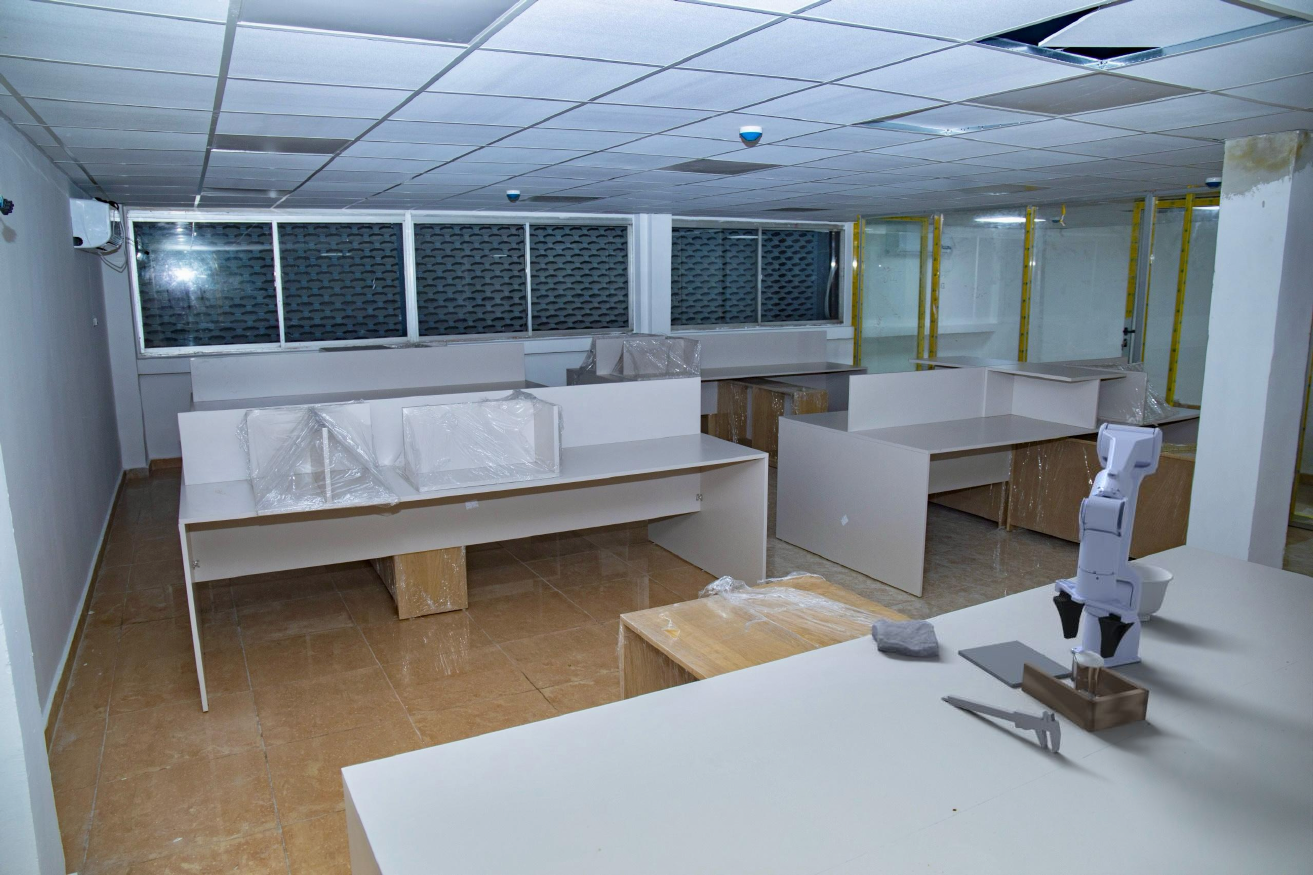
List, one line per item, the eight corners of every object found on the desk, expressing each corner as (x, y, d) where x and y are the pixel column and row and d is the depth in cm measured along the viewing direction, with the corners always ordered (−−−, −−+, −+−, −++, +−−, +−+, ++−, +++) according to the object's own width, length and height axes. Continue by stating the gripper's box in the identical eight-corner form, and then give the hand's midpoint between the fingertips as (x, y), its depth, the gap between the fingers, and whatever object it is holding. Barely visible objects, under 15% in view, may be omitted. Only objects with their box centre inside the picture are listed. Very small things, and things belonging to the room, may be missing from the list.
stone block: (941, 667, 161) (930, 635, 170) (943, 646, 159) (932, 614, 168) (877, 666, 162) (869, 634, 171) (878, 645, 160) (871, 614, 169)
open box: (1074, 679, 152) (1077, 652, 151) (1145, 719, 139) (1149, 690, 138) (1021, 689, 148) (1024, 662, 147) (1088, 731, 135) (1092, 702, 134)
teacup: (1101, 596, 191) (1106, 554, 189) (1175, 616, 180) (1181, 571, 178) (1079, 610, 183) (1084, 566, 181) (1155, 632, 172) (1161, 585, 170)
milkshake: (1058, 697, 146) (1064, 643, 144) (1088, 696, 146) (1095, 642, 144) (1073, 711, 141) (1080, 655, 139) (1104, 710, 142) (1111, 654, 140)
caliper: (1059, 753, 130) (1063, 715, 128) (1055, 756, 129) (1059, 717, 128) (944, 698, 146) (947, 664, 144) (940, 700, 145) (943, 666, 144)
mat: (1016, 643, 167) (1017, 640, 167) (1073, 675, 154) (1074, 672, 154) (958, 653, 162) (958, 650, 162) (1011, 687, 149) (1011, 684, 149)
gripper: (1044, 557, 144) (1036, 632, 147) (1115, 587, 131) (1105, 669, 134) (1076, 553, 147) (1068, 627, 149) (1150, 582, 133) (1139, 663, 136)
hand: (1088, 647), depth 142 cm, fingers open, 7 cm apart
